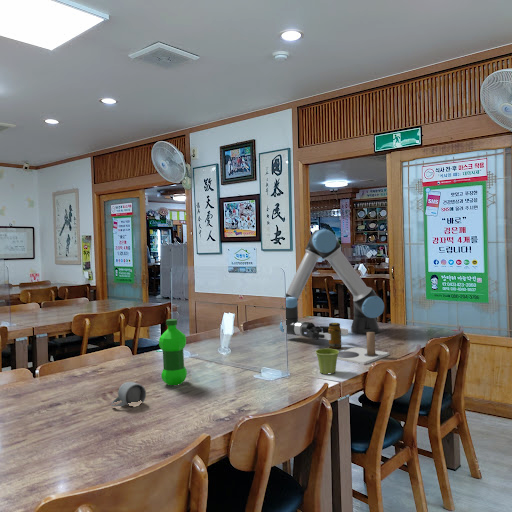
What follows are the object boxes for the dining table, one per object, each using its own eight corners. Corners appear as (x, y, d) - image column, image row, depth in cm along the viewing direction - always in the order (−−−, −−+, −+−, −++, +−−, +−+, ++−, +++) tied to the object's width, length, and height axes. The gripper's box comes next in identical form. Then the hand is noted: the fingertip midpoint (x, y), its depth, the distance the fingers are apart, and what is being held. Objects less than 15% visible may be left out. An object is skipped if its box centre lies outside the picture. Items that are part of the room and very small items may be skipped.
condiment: (334, 345, 233) (333, 321, 233) (348, 348, 227) (347, 323, 226) (324, 348, 229) (323, 323, 228) (338, 351, 222) (337, 325, 221)
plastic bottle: (158, 382, 185) (155, 319, 184) (185, 378, 189) (182, 316, 188) (163, 389, 176) (159, 323, 175) (191, 385, 180) (187, 320, 178)
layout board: (354, 348, 225) (353, 325, 224) (389, 354, 212) (388, 330, 211) (328, 357, 211) (327, 333, 211) (363, 364, 198) (363, 338, 197)
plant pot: (340, 369, 192) (340, 348, 192) (338, 376, 183) (337, 354, 183) (317, 368, 195) (317, 348, 194) (314, 375, 186) (313, 354, 185)
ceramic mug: (136, 398, 168) (135, 377, 168) (147, 404, 162) (145, 382, 161) (108, 406, 161) (106, 384, 161) (117, 413, 155) (115, 390, 155)
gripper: (320, 332, 250) (354, 337, 234) (289, 341, 233) (323, 347, 217) (320, 318, 249) (354, 322, 234) (288, 326, 232) (322, 331, 217)
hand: (339, 334), depth 225 cm, fingers open, 13 cm apart
